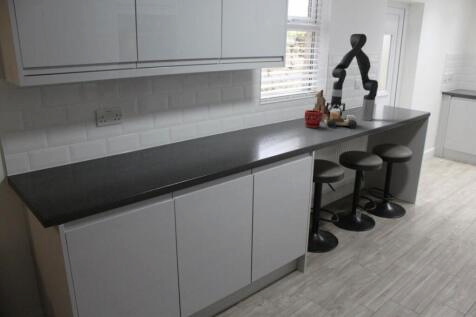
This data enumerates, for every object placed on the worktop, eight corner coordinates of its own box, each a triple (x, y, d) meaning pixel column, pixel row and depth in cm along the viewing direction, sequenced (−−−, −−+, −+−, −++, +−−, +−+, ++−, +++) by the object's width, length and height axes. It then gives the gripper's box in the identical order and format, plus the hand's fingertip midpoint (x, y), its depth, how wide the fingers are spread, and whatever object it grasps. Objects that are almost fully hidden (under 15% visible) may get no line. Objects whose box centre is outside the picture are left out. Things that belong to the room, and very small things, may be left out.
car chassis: (323, 122, 313) (324, 113, 311) (351, 123, 312) (352, 114, 310) (327, 127, 297) (328, 117, 295) (356, 128, 296) (357, 118, 294)
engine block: (330, 119, 307) (330, 112, 305) (336, 120, 307) (337, 112, 305) (331, 121, 300) (332, 114, 299) (338, 121, 300) (339, 114, 298)
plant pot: (322, 128, 292) (324, 113, 288) (305, 128, 292) (306, 112, 288) (319, 125, 304) (320, 109, 301) (302, 124, 304) (303, 109, 300)
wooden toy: (330, 121, 319) (333, 90, 311) (325, 122, 314) (328, 91, 307) (315, 118, 330) (317, 88, 322) (310, 119, 325) (312, 88, 318)
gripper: (345, 95, 301) (342, 115, 306) (326, 94, 302) (324, 115, 307) (347, 96, 294) (344, 117, 299) (328, 95, 295) (326, 116, 299)
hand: (334, 116), depth 303 cm, fingers open, 8 cm apart
